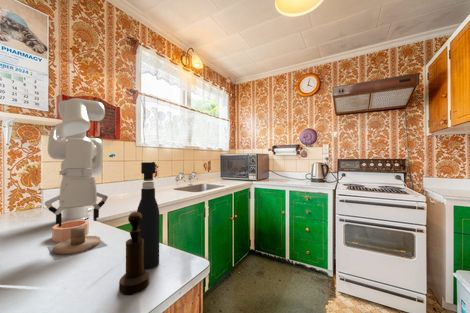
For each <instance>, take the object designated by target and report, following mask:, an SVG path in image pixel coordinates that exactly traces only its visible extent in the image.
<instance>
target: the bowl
mask: <svg viewBox="0 0 470 313" xmlns="http://www.w3.org/2000/svg"><path fill="white" fill-rule="evenodd" d="M76 227H85V236H89V235H88V234H89V232H90V222H89V220H87V219H86V220H76V221H69V222H64V223H61V227H59V224H54V226H52V227H51V240H52V241H53V242H58V243H60V242H63V241H65V240H69V239H71V229H72V228H76Z"/></svg>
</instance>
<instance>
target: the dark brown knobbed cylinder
mask: <svg viewBox="0 0 470 313" xmlns="http://www.w3.org/2000/svg"><path fill="white" fill-rule="evenodd" d="M141 220H142V215H141V213H140V212H137V211H133V212H131V213H130V214H129V215H128V219H127V221H128V222H129V224H130V226H131V230H129V234H130V238H129V239H126V241H125V273H124V274H123V276H122V277H120V279H119V283H118V284H119V287H118V291H119V293H120V294H121V295H124V296H132V295H136V294H138V293H141V292H142V291H144V290H145V289H147V287H148V286H149V285H150V273H149V270H144V255H143V254H144V239H143V238H139V234H140V229H139V227H138V225H139V223H140V222H141Z"/></svg>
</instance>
